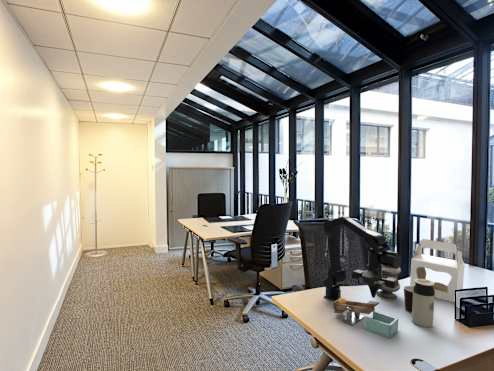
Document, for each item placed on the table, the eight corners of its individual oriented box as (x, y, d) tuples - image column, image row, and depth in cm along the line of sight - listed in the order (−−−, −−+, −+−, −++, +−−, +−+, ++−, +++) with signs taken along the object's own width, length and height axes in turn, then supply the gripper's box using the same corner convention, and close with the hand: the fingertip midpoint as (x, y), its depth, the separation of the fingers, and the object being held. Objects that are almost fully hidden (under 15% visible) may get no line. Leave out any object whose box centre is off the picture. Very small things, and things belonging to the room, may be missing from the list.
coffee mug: (412, 315, 145) (413, 293, 144) (398, 307, 153) (399, 286, 152) (433, 312, 148) (434, 291, 147) (418, 305, 156) (419, 284, 155)
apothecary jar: (376, 298, 163) (377, 263, 162) (372, 290, 174) (374, 257, 173) (402, 301, 160) (404, 265, 159) (397, 292, 171) (398, 259, 170)
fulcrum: (341, 321, 137) (342, 307, 136) (353, 313, 145) (353, 299, 144) (352, 326, 133) (353, 310, 133) (364, 317, 141) (364, 303, 141)
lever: (333, 313, 142) (332, 302, 142) (349, 303, 152) (347, 293, 153) (369, 319, 131) (368, 307, 131) (383, 308, 141) (381, 297, 142)
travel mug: (407, 320, 140) (409, 279, 139) (421, 317, 143) (423, 277, 142) (423, 328, 132) (425, 285, 131) (437, 326, 135) (439, 283, 134)
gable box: (463, 296, 169) (466, 243, 167) (456, 303, 159) (460, 247, 158) (417, 284, 185) (419, 236, 183) (409, 290, 175) (411, 239, 174)
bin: (364, 329, 131) (365, 317, 131) (373, 322, 137) (373, 310, 137) (389, 338, 124) (390, 325, 124) (397, 330, 130) (398, 318, 130)
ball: (338, 307, 142) (335, 299, 142) (341, 305, 144) (339, 297, 145) (345, 306, 139) (342, 298, 140) (348, 304, 142) (346, 296, 143)
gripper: (346, 261, 142) (345, 296, 143) (390, 271, 130) (388, 309, 130) (357, 257, 150) (356, 289, 151) (399, 266, 138) (397, 301, 138)
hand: (373, 297), depth 143 cm, fingers closed
